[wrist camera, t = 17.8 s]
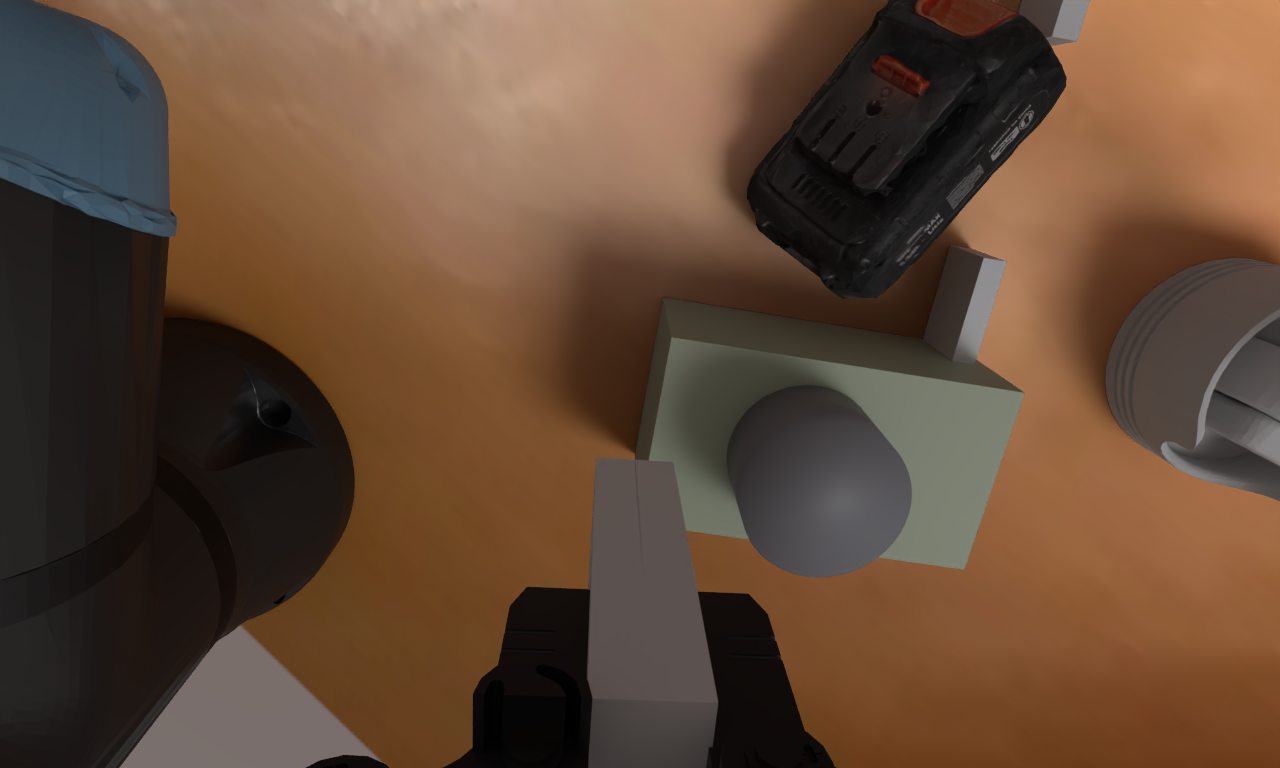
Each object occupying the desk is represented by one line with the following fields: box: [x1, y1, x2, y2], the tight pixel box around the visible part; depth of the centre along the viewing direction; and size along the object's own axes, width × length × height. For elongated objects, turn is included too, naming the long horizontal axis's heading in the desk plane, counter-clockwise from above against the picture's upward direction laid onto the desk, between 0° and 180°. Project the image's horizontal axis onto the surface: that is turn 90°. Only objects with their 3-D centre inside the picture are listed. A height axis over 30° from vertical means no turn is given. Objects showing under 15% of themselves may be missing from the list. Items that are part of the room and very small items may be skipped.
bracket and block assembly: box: [635, 0, 1090, 577], centre depth 30 cm, size 14×26×11 cm, turn 171°
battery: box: [747, 0, 1066, 299], centre depth 31 cm, size 12×8×7 cm
